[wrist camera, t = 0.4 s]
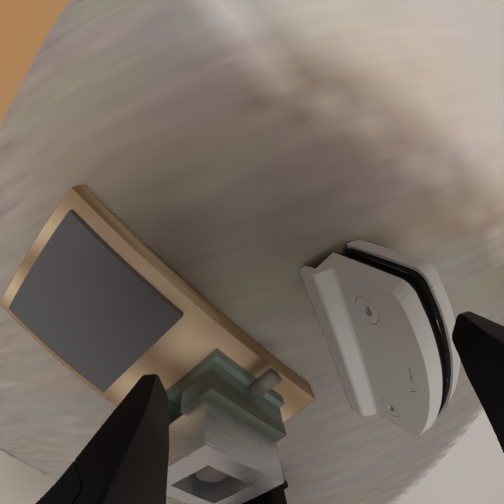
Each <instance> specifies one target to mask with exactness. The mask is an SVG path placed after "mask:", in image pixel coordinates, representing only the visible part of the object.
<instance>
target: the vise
mask: <svg viewBox="0 0 504 504" xmlns="http://www.w3.org/2000/svg"><path fill="white" fill-rule="evenodd" d="M72 209H73V210H74V211H75V212H76V213H77V214H78V215H79V216H80V217H81V218H82V219H83V220H84V221H85V222H86V223H87V224H88V225H89V226H90V227H91V228H92V229H93V230H94V231H95V232H96V233H97V234H98V235H99V236H100V237H101V238H102V239H103V240H104V241H105V242H106V243H107V244H108V245H109V246H110V247H111V248H112V249H113V250H115V251H116V252H117V253H118V254H119V255H120V256H121V257H122V258H123V259H124V260H125V261H126V262H127V263H128V264H129V265H130V266H132V267H133V268H134V269H135V270H136V271H137V272H138V273H139V274H140V275H141V276H142V277H144V278H145V279H146V280H147V281H148V282H149V283H150V284H151V285H152V286H154V287H155V288H156V289H157V290H158V291H159V292H160V293H162V294H163V295H164V296H165V297H166V298H167V299H168V300H170V301H171V302H172V303H173V304H174V305H175V306H177V307H178V308H179V309H180V310H181V311H182V312H184V313H183V317H182V318H181V319H180V320H179V321H178V322H177V323H176V324H175V325H173V326H172V327H171V328H170V329H169V330H168V331H167V332H166V333H165V334H164V335H163V336H162V337H161V338H160V339H159V340H158V341H157V342H156V343H155V344H154V345H153V346H152V347H151V348H150V349H148V350H147V351H146V352H145V353H144V354H143V355H142V356H141V357H140V358H139V359H138V360H137V361H136V362H135V363H134V364H133V365H132V366H131V367H130V368H129V369H128V370H127V371H126V372H125V373H123V374H122V375H121V376H120V377H119V378H118V379H117V380H116V381H115V382H114V383H113V384H112V385H111V386H110V387H109V388H108V389H107V390H106V391H105V392H104V393H103V392H102V391H101V390H99V389H98V388H97V387H95V386H94V385H93V384H91V383H90V382H89V381H88V380H86V379H85V378H84V377H83V376H81V375H80V374H79V373H78V372H76V371H75V370H74V369H73V368H71V367H70V366H69V365H68V364H67V363H65V362H64V361H63V360H62V359H61V358H60V357H58V356H57V355H56V354H55V353H54V352H53V351H52V350H51V349H49V348H48V347H47V346H46V345H45V344H44V343H43V342H42V341H41V340H40V339H39V338H37V337H36V336H35V335H34V334H33V333H32V332H31V331H30V330H29V329H28V328H27V327H26V326H25V325H24V324H23V323H22V322H21V321H20V320H19V319H18V318H17V317H16V316H15V315H14V314H13V313H12V312H11V311H10V310H9V309H8V308H9V306H10V304H11V302H12V300H13V299H14V297H15V295H16V293H17V291H18V290H19V288H20V286H21V284H22V283H23V281H24V279H25V277H26V276H27V274H28V272H29V271H30V269H31V267H32V266H33V264H34V262H35V261H36V259H37V257H38V256H39V254H40V253H41V251H42V250H43V248H44V246H45V245H46V243H47V242H48V240H49V239H50V237H51V236H52V234H53V233H54V231H55V230H56V228H57V227H58V226H59V224H60V223H61V221H62V220H63V218H64V217H65V216H66V214H67V213H68V211H70V210H72ZM0 305H1V306H2V307H3V308H4V309H5V310H6V311H7V312H8V313H9V314H10V315H11V316H12V317H13V318H14V319H15V320H16V322H17V323H18V324H19V325H20V326H21V327H22V328H23V329H24V330H26V331H27V332H28V333H29V334H30V335H31V336H32V337H33V338H34V339H35V340H36V341H37V342H38V343H39V344H40V345H41V346H42V347H44V348H45V349H46V350H47V351H48V352H49V353H50V354H51V355H52V356H54V357H55V358H56V359H57V360H58V361H59V362H61V363H62V364H63V365H64V366H65V367H66V368H68V369H69V370H70V371H71V372H73V373H74V374H75V375H76V376H77V377H79V378H80V379H81V380H82V381H84V382H85V383H86V384H88V385H89V386H90V387H91V388H93V389H94V390H95V391H97V392H98V393H99V394H101V395H102V396H104V397H105V398H106V399H108V400H109V401H110V402H112V403H113V404H115V405H116V406H118V405H119V404H120V403H121V401H122V400H123V399H124V398H125V396H126V395H127V394H128V393H129V391H130V390H131V389H132V388H133V386H134V385H135V384H136V383H137V382H138V380H139V379H140V378H141V377H142V376H143V375H145V374H157V375H158V376H159V378H160V380H161V382H162V384H163V386H164V388H165V390H166V392H167V396H168V418H169V424H171V423H172V422H174V421H175V420H176V419H178V418H179V417H181V416H182V415H183V414H185V413H186V412H187V411H189V410H190V409H191V408H193V407H194V406H195V405H197V404H198V403H199V402H201V401H202V400H203V399H205V398H206V397H207V398H208V399H210V400H211V401H213V402H214V403H216V404H217V405H219V406H220V407H222V408H223V409H225V410H227V411H228V412H230V413H231V414H233V415H235V416H236V417H238V418H239V419H241V420H243V421H244V422H246V423H248V424H249V425H251V426H253V427H254V428H256V429H258V430H260V431H261V432H263V433H265V434H266V435H268V436H270V437H272V438H274V439H275V441H276V442H277V441H278V440H280V439H281V438H283V437H284V436H286V432H285V428H284V424H283V422H285V421H286V420H288V419H289V418H291V417H292V416H293V415H295V414H296V413H298V412H299V411H300V410H302V409H303V408H304V407H306V406H307V405H309V404H310V403H311V402H313V401H314V400H315V397H314V394H313V392H312V389H311V386H310V384H308V383H307V382H306V381H304V380H303V379H302V378H300V377H299V376H298V375H297V374H295V373H294V372H293V371H291V370H290V369H289V368H288V367H286V366H285V365H284V364H283V363H281V362H280V361H279V360H277V359H276V358H275V357H274V356H272V355H271V354H270V353H269V352H267V351H266V350H265V349H264V348H263V347H261V346H260V345H259V344H258V343H256V342H255V341H254V340H253V339H252V338H250V337H249V336H248V335H247V334H245V333H244V332H243V331H242V330H241V329H239V328H238V327H237V326H236V325H235V324H233V323H232V322H231V321H230V320H229V319H228V318H226V317H225V316H224V315H223V314H222V313H221V312H219V311H218V310H217V309H216V308H215V307H214V306H212V305H211V304H210V303H209V302H208V301H207V300H205V299H204V298H203V297H202V296H201V295H200V294H199V293H197V292H196V291H195V290H194V289H193V288H192V287H191V286H190V285H188V284H187V283H186V282H185V281H184V280H183V279H182V278H181V277H179V276H178V275H177V274H176V273H175V272H174V271H173V270H172V269H171V268H170V267H168V266H167V265H166V264H165V263H164V262H163V261H162V260H161V259H160V258H159V257H158V256H156V255H155V254H154V253H153V252H152V251H151V250H150V249H149V248H148V247H147V246H146V245H145V244H144V243H143V242H142V241H140V240H139V239H138V238H137V237H136V236H135V235H134V234H133V233H132V232H131V231H130V230H129V229H128V228H127V227H126V226H125V225H124V224H123V223H122V222H121V221H120V220H119V219H118V218H117V217H116V216H115V215H113V214H112V213H111V212H110V211H109V210H108V209H107V208H106V207H105V206H104V205H103V204H102V203H101V202H100V201H99V200H98V199H97V198H96V197H95V196H94V195H93V194H92V193H91V192H90V191H89V189H88V188H87V187H86V186H85V185H84V184H83V185H79V186H75V187H71V189H70V190H69V191H68V193H67V194H66V196H65V197H64V198H63V200H62V201H61V203H60V204H59V205H58V207H57V208H56V210H55V211H54V213H53V214H52V216H51V217H50V219H49V220H48V222H47V223H46V225H45V226H44V228H43V229H42V231H41V232H40V234H39V235H38V237H37V239H36V240H35V242H34V243H33V245H32V247H31V248H30V250H29V252H28V253H27V255H26V257H25V258H24V260H23V262H22V264H21V265H20V267H19V269H18V271H17V273H16V274H15V276H14V278H13V280H12V282H11V284H10V285H9V287H8V289H7V291H6V293H5V295H4V297H3V299H2V301H1V303H0ZM195 475H196V477H197V478H198V479H200V480H202V481H206V482H218V481H221V480H223V479H225V478H226V476H227V474H225V473H223V472H221V471H219V470H217V469H215V468H213V467H211V466H209V465H207V466H206V467H204V468H202V469H200V470H198V471H197V472H195Z"/></svg>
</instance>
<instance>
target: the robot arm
mask: <svg viewBox="0 0 504 504" xmlns="http://www.w3.org/2000/svg"><path fill="white" fill-rule="evenodd" d="M452 341H453V343H454V346H455V348H456V350H457V353H458V355H459V357H460V360H461V362H462V364H463V367H464V369H465V372H466V374H467V376H468V379H469V381H470V383H471V385H472V386H473V388H474V390H475V392H476V394H477V396H478V398H479V400H480V402H481V404H482V406H483V408H484V410H485V412H486V414H487V416H488V418H489V421H490V423H491V425H492V427H493V429H494V432H495V434H496V436H497V438H498V441H499V443H500V445H501V447H502V450H503V452H504V326H502V325H499V324H497V323H495V322H493V321H490V320H488V319H486V318H484V317H481V316H479V315H477V314H474V313H472V312H469V311H467V312H464V313H461V314H459V315H458V316H457V318H456V322H455V325H454V329H453V332H452ZM168 460H169V418H168V396H167V392H166V390H165V388H164V386H163V384H162V382H161V380H160V378H159V376H158V375H157V374H145V375H143V376H142V377H141V378H140V379H139V380H138V382H137V383H136V384H135V385H134V386H133V388H132V389H131V390H130V391H129V393H128V394H127V395H126V396H125V398H124V399H123V400H122V401H121V403H120V404H119V405H118V406H117V408H116V409H115V410H114V411H113V413H112V414H111V415H110V416H109V418H108V419H107V420H106V421H105V423H104V424H103V425H102V426H101V428H100V429H99V430H98V431H97V433H96V434H95V435H94V436H93V438H92V439H91V440H90V441H89V443H88V444H87V445H86V446H85V448H84V449H83V450H82V451H81V453H80V454H79V455H78V457H77V458H76V459H75V461H74V462H73V463H72V464H71V465H70V466H69V468H68V469H67V470H66V471H65V473H64V474H63V475H62V476H61V477H60V479H59V480H58V481H57V482H56V483H55V484H54V486H52V487H51V488H50V490H49V491H48V492H47V493H46V494H45V495H44V496H43V497H42V498H41V499H40V500H39V501H38V502H37V503H36V504H166V491H167V475H168ZM287 487H288V483H287V482H284V483H282V484H280V485H279V486H277V487H275V488H273V489H271V490H269V491H267V492H265V493H263V494H261V495H259V496H257V497H255V498H253V499H251V500H249V501H246V502H244V503H242V504H287V502H286V497H285V493H284V489H285V488H287Z"/></svg>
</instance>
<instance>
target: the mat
mask: <svg viewBox="0 0 504 504" xmlns="http://www.w3.org/2000/svg"><path fill="white" fill-rule="evenodd" d="M8 309H9V310H10V311H11V312H12V313H13V314H14V315H15V316H16V317H17V318H18V319H19V320H20V321H21V322H22V323H23V324H24V325H25V326H26V327H27V328H28V329H29V330H30V331H31V332H32V333H33V334H34V335H35V336H36V337H37V338H39V339H40V340H41V341H42V342H43V343H44V344H45V345H46V346H47V347H48V348H49V349H51V350H52V351H53V352H54V353H55V354H56V355H57V356H58V357H60V358H61V359H62V360H63V361H64V362H65V363H67V364H68V365H69V366H70V367H71V368H73V369H74V370H75V371H76V372H78V373H79V374H80V375H81V376H83V377H84V378H85V379H86V380H88V381H89V382H90V383H91V384H93V385H94V386H95V387H97V388H98V389H99V390H101V391H102V392H103V393H104V392H105V391H106V390H107V389H108V388H109V387H110V386H111V385H112V384H113V383H114V382H115V381H116V380H117V379H118V378H119V377H120V376H121V375H122V374H123V373H125V372H126V371H127V370H128V369H129V368H130V367H131V366H132V365H133V364H134V363H135V362H136V361H137V360H138V359H139V358H140V357H141V356H142V355H143V354H144V353H145V352H146V351H147V350H148V349H150V348H151V347H152V346H153V345H154V344H155V343H156V342H157V341H158V340H159V339H160V338H161V337H162V336H163V335H164V334H165V333H166V332H167V331H168V330H169V329H170V328H171V327H172V326H173V325H175V324H176V323H177V322H178V321H179V320H180V319H181V318H182V317H183V313H184V312H182V311H181V310H180V309H179V308H178V307H177V306H175V305H174V304H173V303H172V302H171V301H170V300H168V299H167V298H166V297H165V296H164V295H163V294H162V293H160V292H159V291H158V290H157V289H156V288H155V287H154V286H152V285H151V284H150V283H149V282H148V281H147V280H146V279H145V278H144V277H142V276H141V275H140V274H139V273H138V272H137V271H136V270H135V269H134V268H133V267H132V266H130V265H129V264H128V263H127V262H126V261H125V260H124V259H123V258H122V257H121V256H120V255H119V254H118V253H117V252H116V251H115V250H113V249H112V248H111V247H110V246H109V245H108V244H107V243H106V242H105V241H104V240H103V239H102V238H101V237H100V236H99V235H98V234H97V233H96V232H95V231H94V230H93V229H92V228H91V227H90V226H89V225H88V224H87V223H86V222H85V221H84V220H83V219H82V218H81V217H80V216H79V215H78V214H77V213H76V212H75V211H74V210H73V209H72V210H70V211H68V213H67V214H66V216H65V217H64V218H63V220H62V221H61V223H60V224H59V226H58V227H57V228H56V230H55V231H54V233H53V234H52V236H51V237H50V239H49V240H48V242H47V243H46V245H45V246H44V248H43V250H42V251H41V253H40V254H39V256H38V257H37V259H36V261H35V262H34V264H33V266H32V267H31V269H30V271H29V272H28V274H27V276H26V277H25V279H24V281H23V283H22V284H21V286H20V288H19V290H18V291H17V293H16V295H15V297H14V299H13V300H12V302H11V304H10V306H9V308H8Z"/></svg>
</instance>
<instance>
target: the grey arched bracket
mask: <svg viewBox="0 0 504 504" xmlns="http://www.w3.org/2000/svg"><path fill="white" fill-rule="evenodd" d="M346 244H347V248H348V249H347V250H346V253H347V256H346V255H344V254H340V255H339V254H336V253H334V252H333V253H332V254H331V255H330V256H329V257H328V258H326V259H325V260H324V261H323V262H322V263H321V264H320V265H319V266H318V267H317V268H316V269H315V268H311V267H308V266H303V267H302V268H300V269H299V271H300V274H301V276H302V279H303V281H304V284H305V286H306V289H307V291H308V294H309V297H310V299H311V302H312V304H313V307H314V309H315V312H316V315H317V317H318V320H319V322H320V325H321V328H322V330H323V333H324V336H325V338H326V341H327V343H328V346H329V349H330V352H331V354H332V357H333V360H334V362H335V365H336V368H337V370H338V373H339V376H340V379H341V381H342V384H343V387H344V390H345V393H346V395H347V398H348V401H349V404H350V407H351V409H353V410H354V411H356V412H357V413H358V414H360V415H361V416H368V415H374V414H378V415H380V416H382V417H383V418H385V419H387V420H389V421H390V422H392V423H394V424H396V425H398V426H399V427H401V428H403V429H405V430H407V431H408V432H410V433H412V434H414V435H417V436H419V435H421V434H422V433H423V432H425V431H426V430H427V429H429V428H430V427H431V426H432V425H433V423H434V421H435V419H436V418H437V417H440V416H441V415H442V413H443V412H444V410H445V409H446V407H447V405H448V403H449V401H450V400H451V398H452V395H453V393H454V391H455V388H456V385H457V381H458V376H459V367H460V357H459V355H458V353H457V350H456V348H455V346H454V343H453V341H452V332H453V329H454V325H455V318H454V315H453V312H452V308H451V305H450V302H449V299H448V297H447V294H446V291H445V289H444V286H443V284H442V282H441V280H440V278H439V275H438V273H437V271H436V269H435V268H434V267H433V266H432V265H431V264H430V263H429V262H427V261H425V260H422V259H419V258H416V257H413V256H410V255H407V254H404V253H401V252H398V251H394V250H391V249H388V248H385V247H382V246H379V245H376V244H372V243H369V242H366V241H363V240H355V241H352V242H349V243H346Z"/></svg>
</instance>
